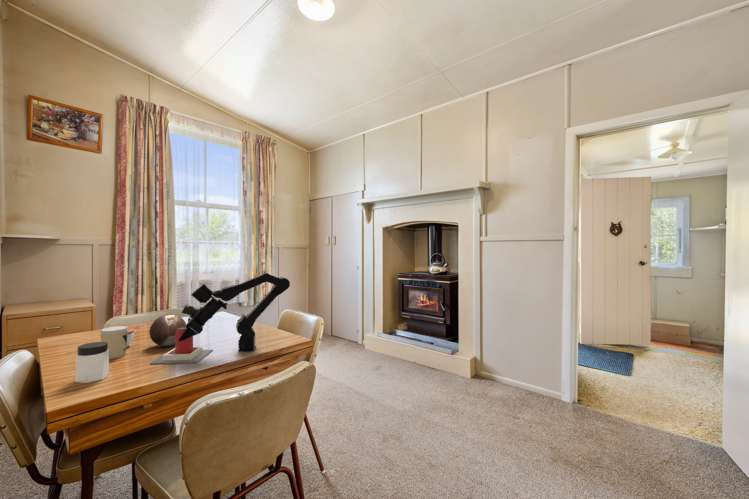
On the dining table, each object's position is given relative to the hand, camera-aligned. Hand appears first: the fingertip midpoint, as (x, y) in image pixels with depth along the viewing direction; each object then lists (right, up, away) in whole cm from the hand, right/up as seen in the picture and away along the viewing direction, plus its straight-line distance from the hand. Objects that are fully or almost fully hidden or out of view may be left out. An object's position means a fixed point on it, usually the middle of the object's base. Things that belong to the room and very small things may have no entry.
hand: (179, 338), depth 136 cm
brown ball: (-16, -8, +17) cm, 25 cm away
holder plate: (+1, -8, +1) cm, 8 cm away
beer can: (+1, -8, +1) cm, 8 cm away
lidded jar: (-37, -8, +13) cm, 40 cm away
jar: (-17, -8, -23) cm, 30 cm away
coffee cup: (-29, -8, +1) cm, 30 cm away
